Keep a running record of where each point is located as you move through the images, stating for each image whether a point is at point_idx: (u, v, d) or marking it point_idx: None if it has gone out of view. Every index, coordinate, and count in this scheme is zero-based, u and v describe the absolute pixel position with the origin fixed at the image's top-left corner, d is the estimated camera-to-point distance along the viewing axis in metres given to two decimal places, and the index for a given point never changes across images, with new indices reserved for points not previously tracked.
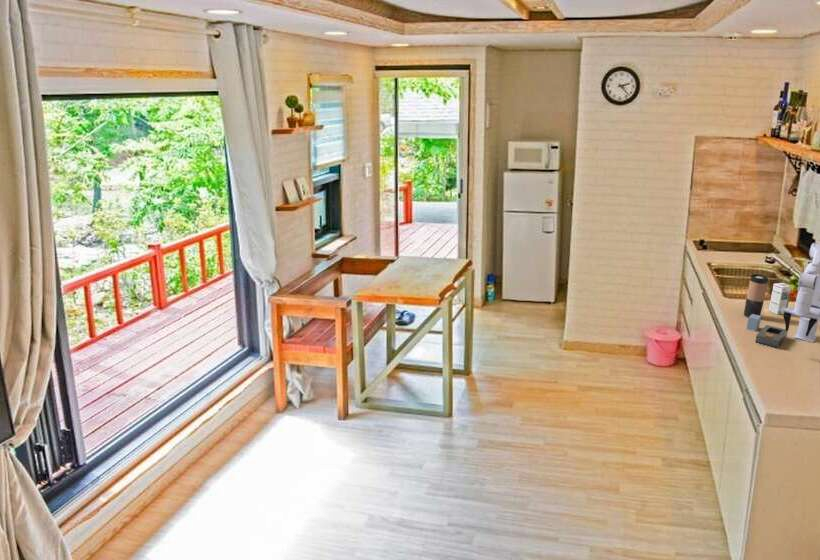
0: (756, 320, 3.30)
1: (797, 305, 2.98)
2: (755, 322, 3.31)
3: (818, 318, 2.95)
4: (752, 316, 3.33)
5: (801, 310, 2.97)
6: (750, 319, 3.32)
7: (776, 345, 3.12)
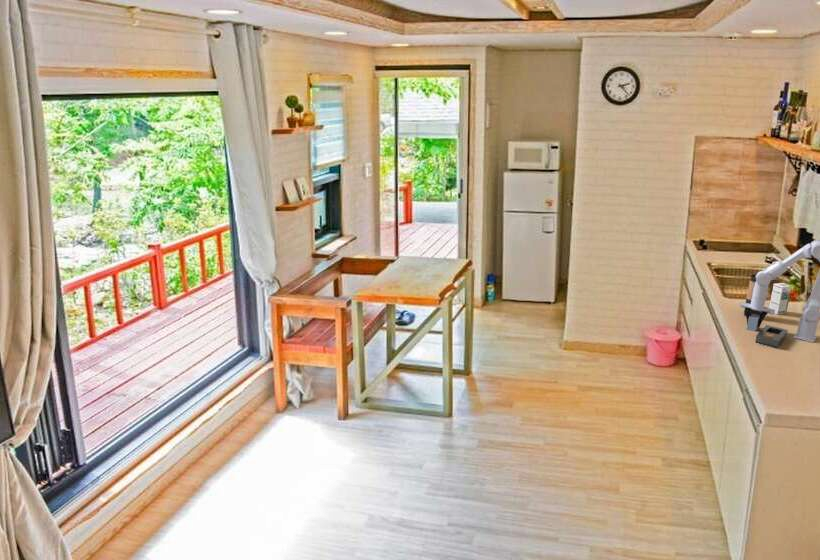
0: (756, 320, 3.30)
1: (753, 300, 3.30)
2: (755, 322, 3.31)
3: (771, 312, 3.27)
4: (752, 316, 3.33)
5: (757, 305, 3.29)
6: (750, 319, 3.32)
7: (776, 345, 3.12)
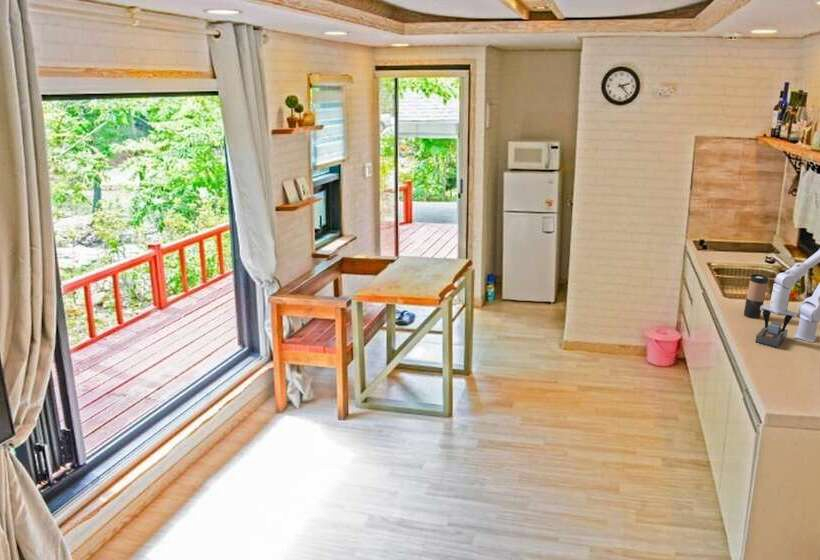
0: (777, 328, 3.19)
1: (774, 303, 3.18)
2: (776, 330, 3.19)
3: (794, 315, 3.15)
4: (772, 324, 3.22)
5: (778, 308, 3.17)
6: (770, 327, 3.20)
7: (776, 345, 3.12)
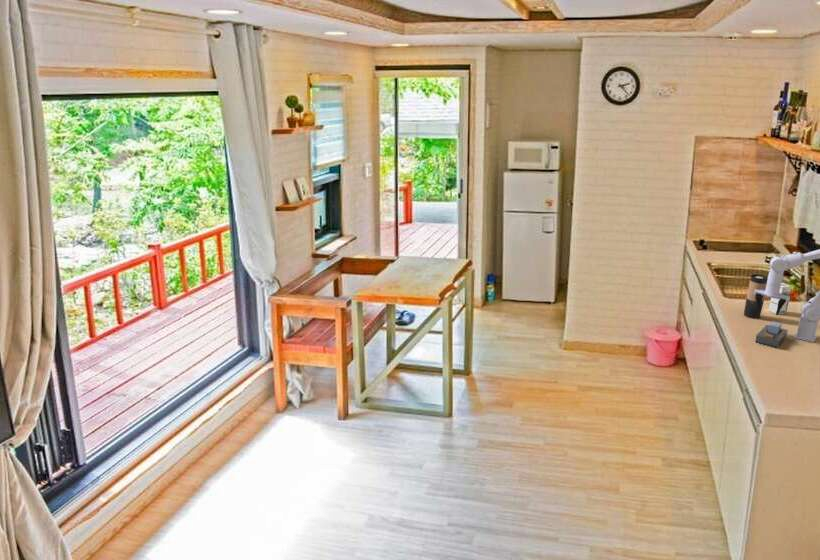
0: (777, 328, 3.19)
1: (767, 286, 3.24)
2: (776, 330, 3.19)
3: (787, 298, 3.21)
4: (772, 324, 3.22)
5: (772, 291, 3.23)
6: (770, 327, 3.20)
7: (776, 345, 3.12)
